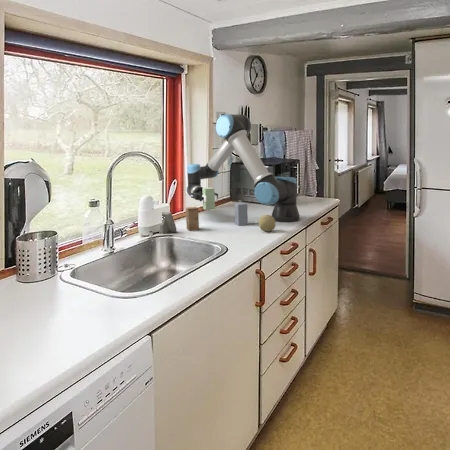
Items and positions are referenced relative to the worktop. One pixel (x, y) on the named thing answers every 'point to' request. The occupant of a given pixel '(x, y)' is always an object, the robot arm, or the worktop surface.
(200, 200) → the robot arm
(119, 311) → the worktop surface
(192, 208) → the walnut block
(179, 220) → the worktop surface
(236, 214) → the slate grey block
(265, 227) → the potato
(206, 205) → the sage green block
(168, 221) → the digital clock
